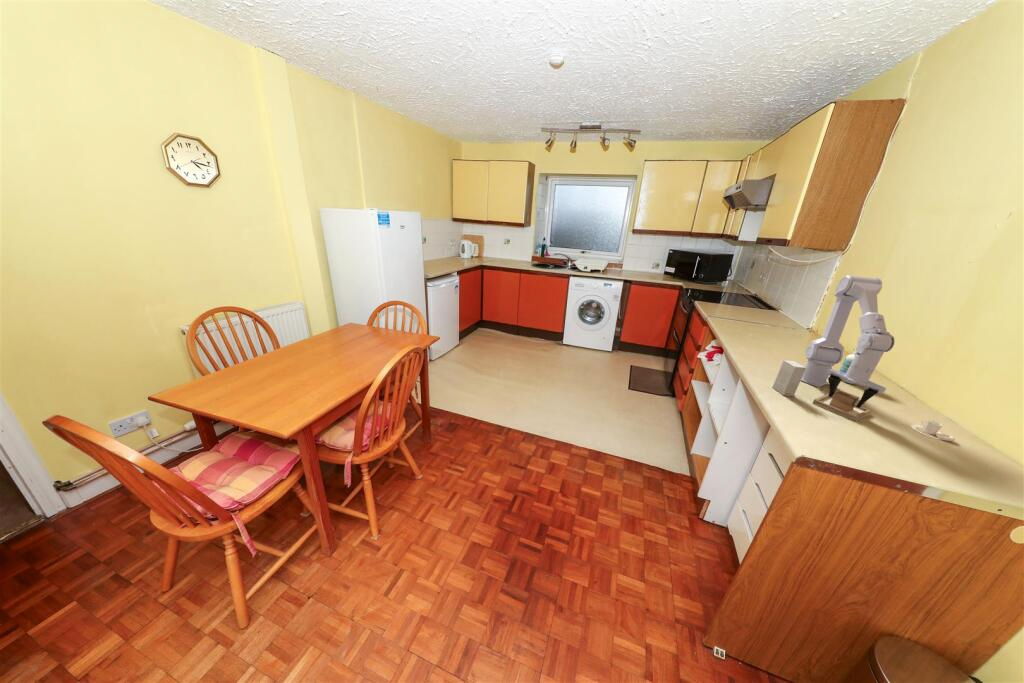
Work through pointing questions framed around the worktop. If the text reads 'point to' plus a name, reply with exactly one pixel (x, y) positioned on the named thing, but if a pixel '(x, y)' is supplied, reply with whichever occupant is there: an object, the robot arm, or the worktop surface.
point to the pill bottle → (847, 365)
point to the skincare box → (788, 378)
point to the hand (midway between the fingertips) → (844, 401)
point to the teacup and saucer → (933, 430)
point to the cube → (844, 401)
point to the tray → (853, 414)
